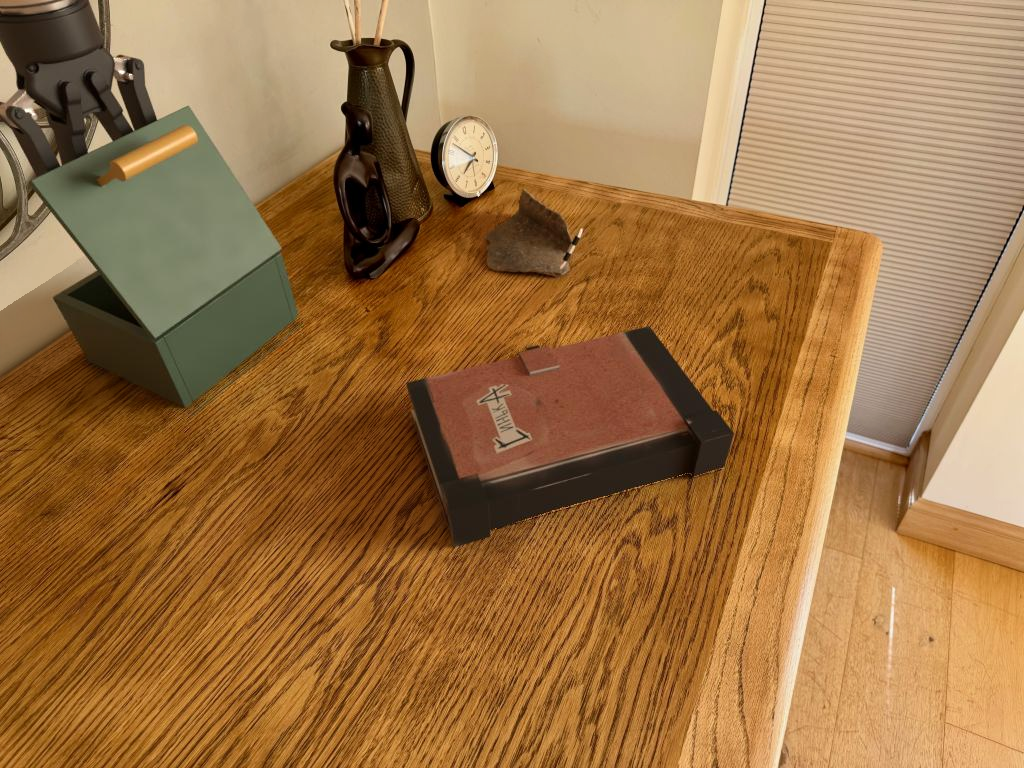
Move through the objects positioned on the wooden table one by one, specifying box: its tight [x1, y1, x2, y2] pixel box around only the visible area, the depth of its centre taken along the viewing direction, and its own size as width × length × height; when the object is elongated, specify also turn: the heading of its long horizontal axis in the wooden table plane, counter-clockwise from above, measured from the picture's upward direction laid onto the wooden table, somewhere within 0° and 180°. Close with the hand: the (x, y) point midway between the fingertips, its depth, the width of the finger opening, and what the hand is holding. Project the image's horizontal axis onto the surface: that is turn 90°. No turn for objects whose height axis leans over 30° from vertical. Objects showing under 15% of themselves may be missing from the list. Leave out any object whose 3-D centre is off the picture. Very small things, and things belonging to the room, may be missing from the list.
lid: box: [28, 105, 283, 339], centre depth 67 cm, size 16×17×6 cm
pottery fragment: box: [485, 188, 584, 278], centre depth 95 cm, size 18×11×5 cm
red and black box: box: [405, 325, 735, 548], centre depth 69 cm, size 26×18×5 cm
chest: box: [52, 251, 302, 418], centre depth 79 cm, size 15×17×10 cm
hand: (142, 246), depth 75 cm, fingers closed on peg, 4 cm apart
